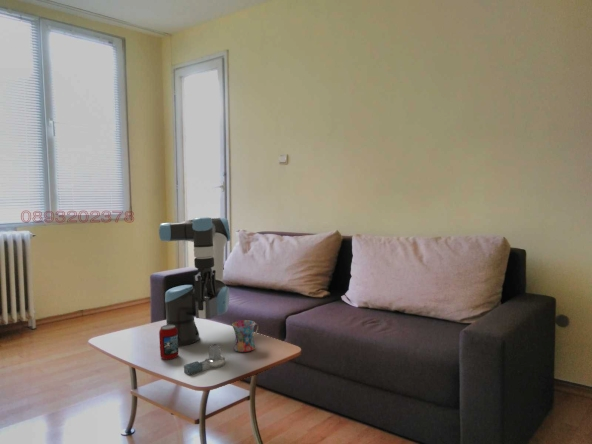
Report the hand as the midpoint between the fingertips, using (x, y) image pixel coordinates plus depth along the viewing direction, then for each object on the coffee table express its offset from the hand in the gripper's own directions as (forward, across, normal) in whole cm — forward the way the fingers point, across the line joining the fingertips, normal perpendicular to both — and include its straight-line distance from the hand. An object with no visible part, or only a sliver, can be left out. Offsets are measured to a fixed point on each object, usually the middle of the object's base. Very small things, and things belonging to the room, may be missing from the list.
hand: (206, 315), depth 176 cm
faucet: (+15, +14, +7) cm, 22 cm away
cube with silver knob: (0, 0, 0) cm, 0 cm away
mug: (+15, -8, +13) cm, 22 cm away
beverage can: (+15, +8, -13) cm, 21 cm away
